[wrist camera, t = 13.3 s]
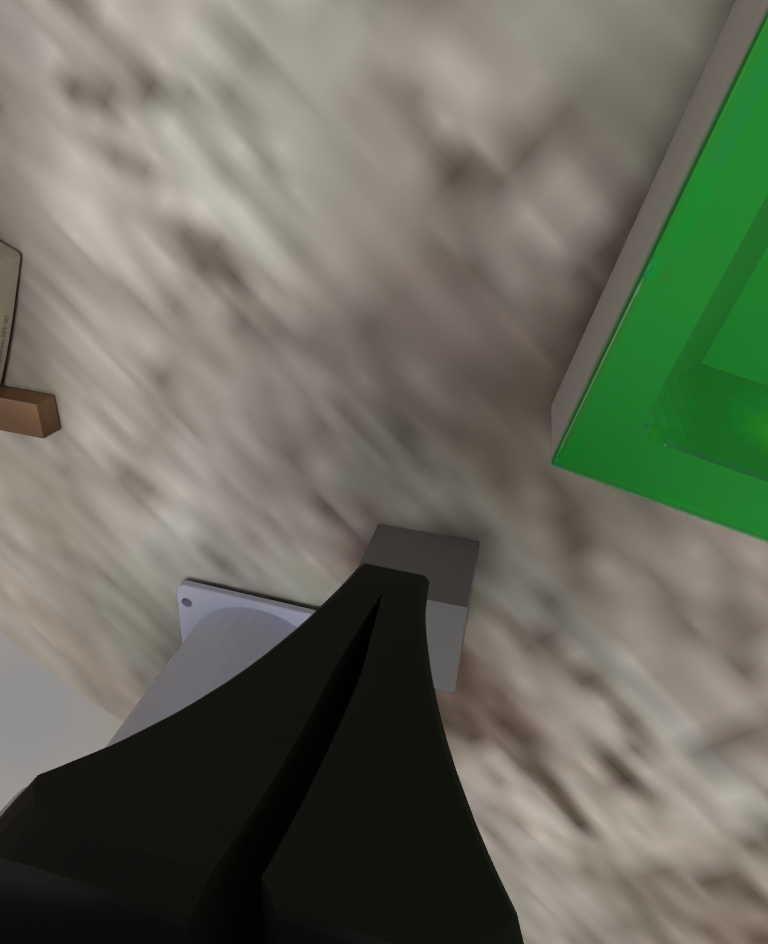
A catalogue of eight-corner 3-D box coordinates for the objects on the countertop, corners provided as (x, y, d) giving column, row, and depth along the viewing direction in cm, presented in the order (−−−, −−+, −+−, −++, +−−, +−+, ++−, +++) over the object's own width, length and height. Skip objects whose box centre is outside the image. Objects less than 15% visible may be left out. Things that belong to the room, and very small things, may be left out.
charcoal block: (467, 619, 25) (454, 693, 22) (374, 600, 26) (348, 669, 23) (479, 540, 23) (467, 607, 20) (378, 522, 24) (350, 584, 21)
